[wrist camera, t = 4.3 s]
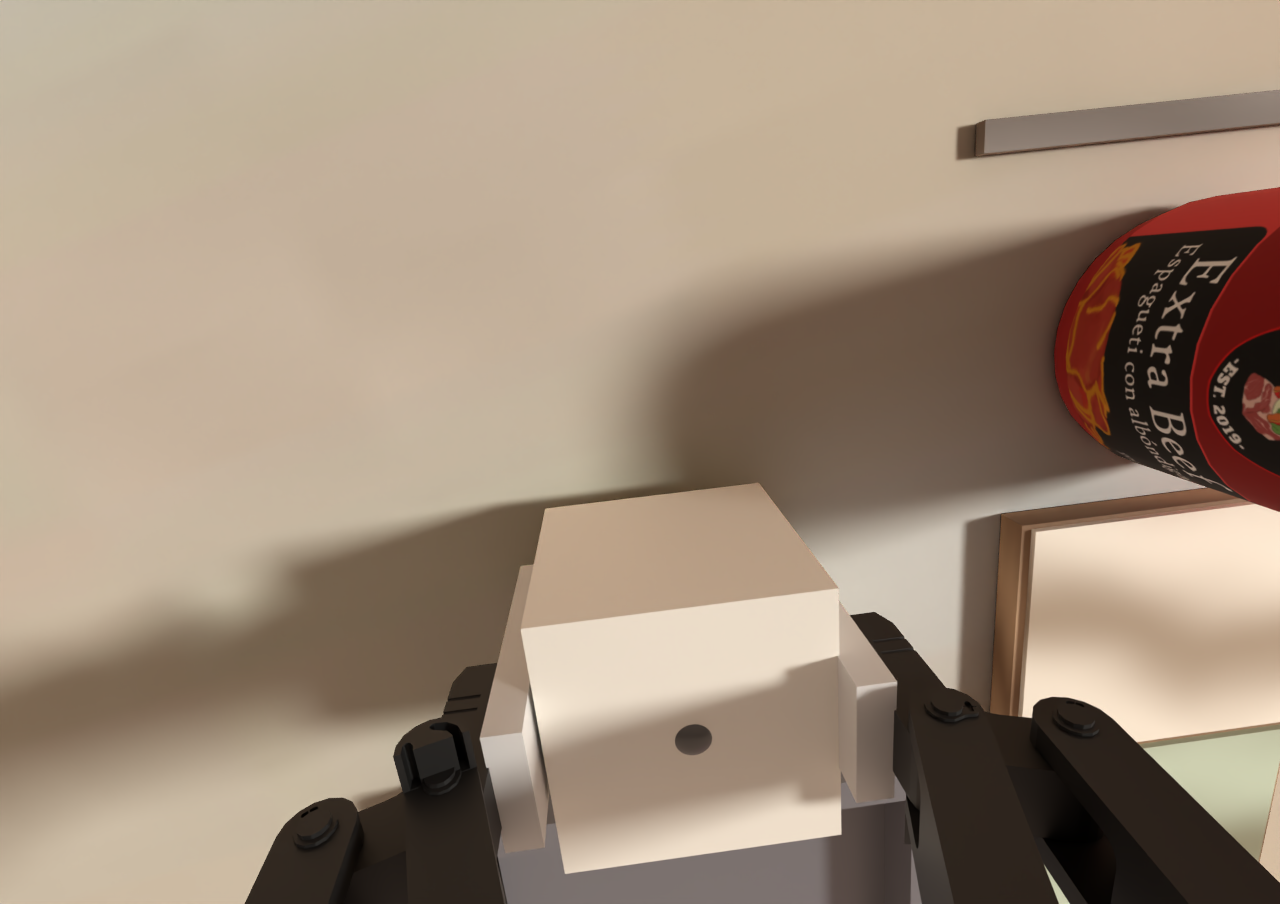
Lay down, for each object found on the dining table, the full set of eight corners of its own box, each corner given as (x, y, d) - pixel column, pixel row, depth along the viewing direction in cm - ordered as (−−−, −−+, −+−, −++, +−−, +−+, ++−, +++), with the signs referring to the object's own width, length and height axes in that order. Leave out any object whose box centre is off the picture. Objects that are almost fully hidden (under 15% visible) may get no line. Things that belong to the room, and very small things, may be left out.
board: (976, 123, 17) (1005, 112, 15) (1426, 77, 17) (1486, 62, 16) (939, 1074, 27) (955, 1110, 25) (1223, 1029, 27) (1251, 1062, 26)
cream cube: (539, 509, 17) (511, 635, 11) (759, 482, 17) (841, 592, 12) (569, 695, 19) (558, 887, 13) (768, 669, 19) (844, 845, 13)
